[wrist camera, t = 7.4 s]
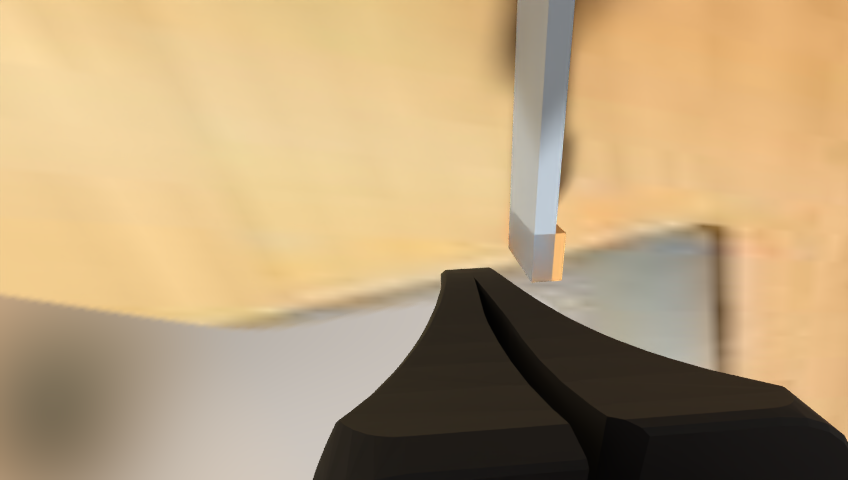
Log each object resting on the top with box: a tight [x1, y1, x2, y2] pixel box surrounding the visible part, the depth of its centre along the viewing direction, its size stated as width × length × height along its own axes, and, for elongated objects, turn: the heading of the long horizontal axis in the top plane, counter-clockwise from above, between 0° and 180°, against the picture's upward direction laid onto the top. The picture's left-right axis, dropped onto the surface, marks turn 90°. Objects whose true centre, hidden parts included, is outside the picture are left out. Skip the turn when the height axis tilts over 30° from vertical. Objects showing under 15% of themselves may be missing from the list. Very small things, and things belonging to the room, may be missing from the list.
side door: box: [509, 0, 575, 282], centre depth 14 cm, size 13×1×4 cm, turn 3°
